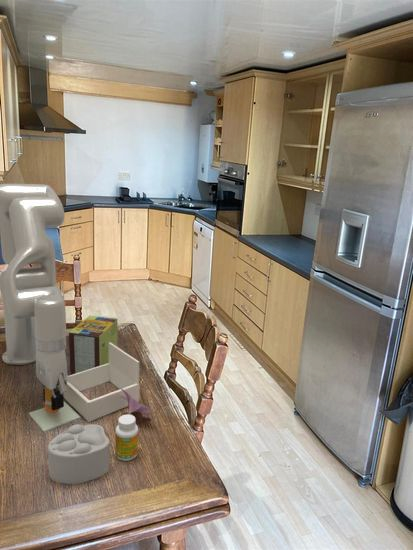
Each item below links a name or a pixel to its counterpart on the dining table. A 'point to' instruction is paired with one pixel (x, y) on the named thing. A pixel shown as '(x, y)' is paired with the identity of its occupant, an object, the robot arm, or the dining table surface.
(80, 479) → the lumpy-topped squat cylinder
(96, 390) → the dining table surface
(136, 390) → the carton
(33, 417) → the mat
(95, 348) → the protein box
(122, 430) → the supplement bottle
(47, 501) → the dining table surface
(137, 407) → the lily
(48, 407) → the supplement box
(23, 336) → the robot arm
